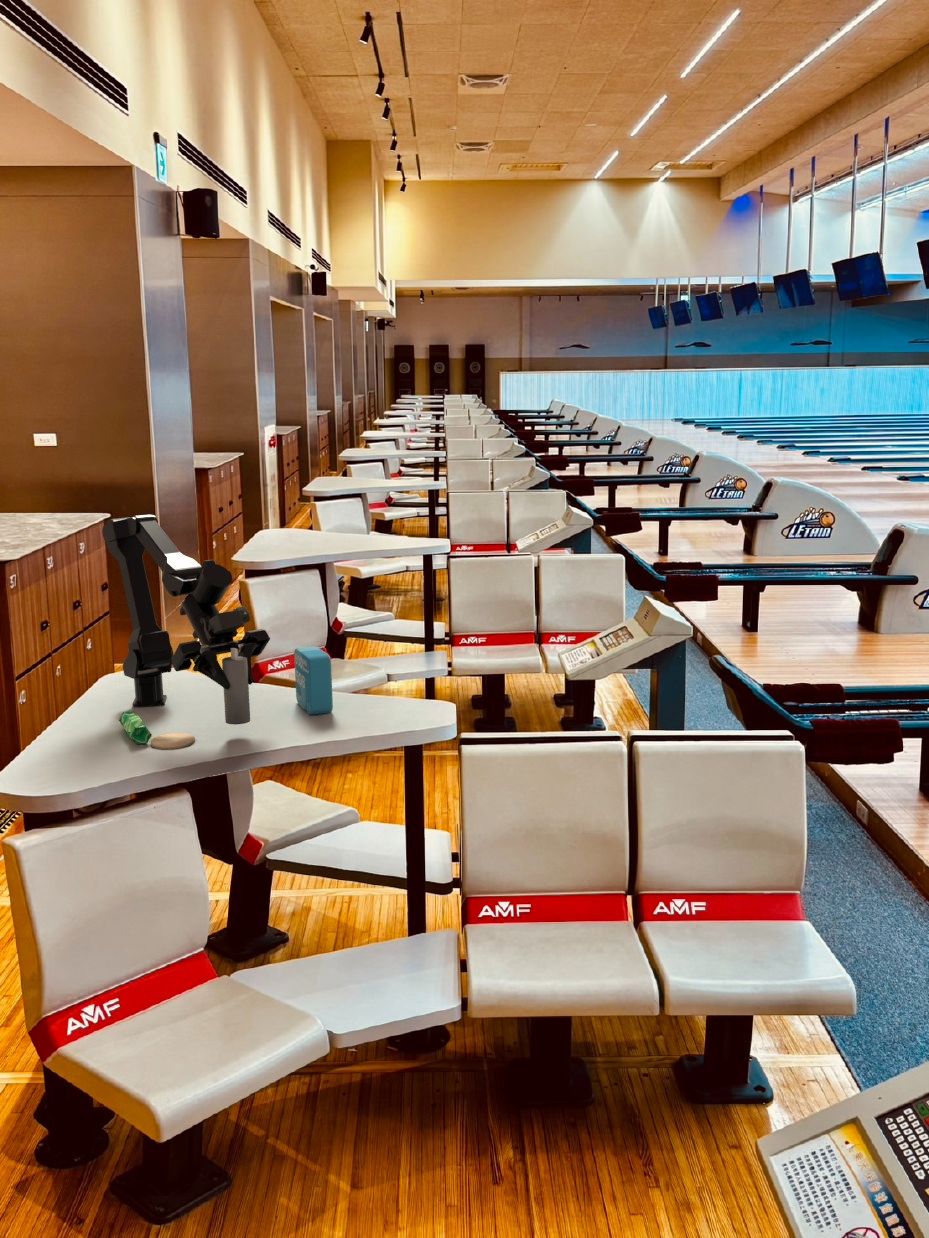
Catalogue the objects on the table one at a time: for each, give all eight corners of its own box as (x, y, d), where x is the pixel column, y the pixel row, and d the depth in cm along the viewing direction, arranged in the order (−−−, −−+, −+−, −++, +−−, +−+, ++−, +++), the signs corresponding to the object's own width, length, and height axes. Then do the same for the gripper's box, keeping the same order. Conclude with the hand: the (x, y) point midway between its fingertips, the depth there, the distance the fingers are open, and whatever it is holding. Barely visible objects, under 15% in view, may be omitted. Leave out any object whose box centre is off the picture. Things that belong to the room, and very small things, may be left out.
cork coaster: (152, 737, 214) (152, 734, 214) (196, 734, 216) (196, 731, 216) (148, 750, 207) (148, 747, 207) (193, 747, 208) (193, 744, 208)
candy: (115, 725, 219) (125, 706, 220) (131, 732, 221) (141, 713, 221) (127, 742, 209) (138, 722, 209) (144, 749, 211) (154, 729, 211)
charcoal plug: (220, 720, 214) (216, 648, 211) (241, 716, 217) (238, 644, 214) (233, 726, 210) (229, 652, 208) (255, 720, 213) (251, 648, 211)
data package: (296, 702, 238) (293, 646, 235) (317, 699, 239) (314, 644, 237) (311, 716, 227) (309, 658, 224) (333, 714, 229) (331, 656, 226)
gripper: (174, 600, 205) (209, 670, 200) (262, 587, 218) (297, 652, 212) (156, 636, 213) (189, 704, 207) (242, 622, 225) (276, 685, 219)
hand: (239, 685), depth 211 cm, fingers closed on charcoal plug, 5 cm apart
